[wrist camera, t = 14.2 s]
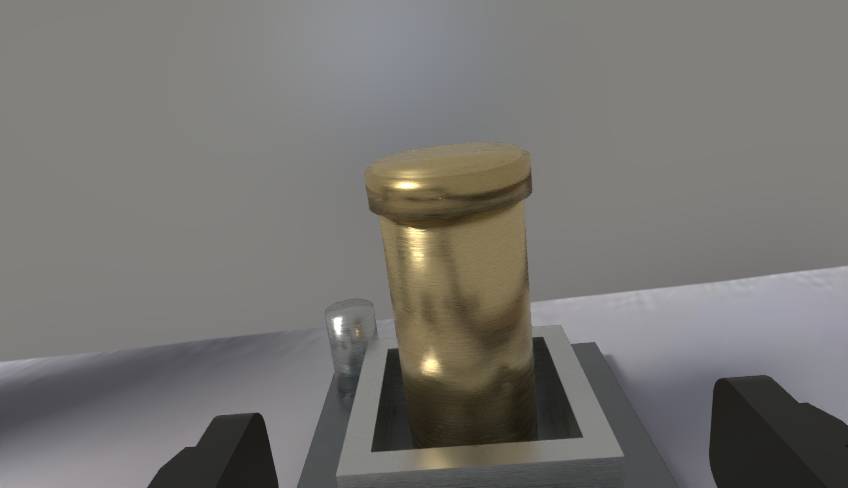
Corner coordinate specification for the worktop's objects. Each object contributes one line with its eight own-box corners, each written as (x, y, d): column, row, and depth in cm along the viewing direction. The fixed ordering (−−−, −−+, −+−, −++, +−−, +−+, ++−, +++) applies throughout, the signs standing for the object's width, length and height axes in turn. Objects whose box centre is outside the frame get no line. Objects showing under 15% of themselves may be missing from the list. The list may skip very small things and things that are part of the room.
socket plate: (246, 687, 15) (207, 548, 14) (340, 378, 31) (326, 295, 29) (760, 662, 15) (778, 513, 13) (595, 358, 30) (594, 272, 28)
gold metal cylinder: (402, 509, 20) (349, 181, 16) (411, 414, 25) (373, 152, 21) (560, 499, 19) (543, 160, 16) (535, 405, 25) (518, 135, 21)
